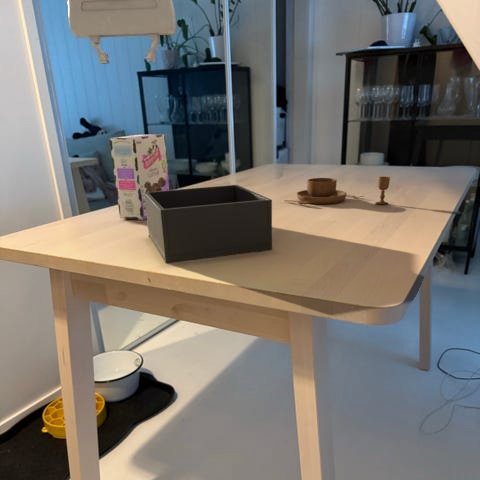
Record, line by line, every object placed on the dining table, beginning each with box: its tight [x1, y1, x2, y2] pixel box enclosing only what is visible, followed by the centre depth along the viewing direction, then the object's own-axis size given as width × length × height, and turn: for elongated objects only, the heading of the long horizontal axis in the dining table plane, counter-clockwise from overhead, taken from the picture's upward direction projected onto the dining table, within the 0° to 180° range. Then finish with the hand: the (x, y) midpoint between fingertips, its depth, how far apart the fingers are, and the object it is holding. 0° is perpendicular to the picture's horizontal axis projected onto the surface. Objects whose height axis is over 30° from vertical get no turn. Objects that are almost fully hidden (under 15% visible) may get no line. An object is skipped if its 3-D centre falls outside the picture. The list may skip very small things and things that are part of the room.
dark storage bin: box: [144, 184, 273, 264], centre depth 78 cm, size 17×17×8 cm
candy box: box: [109, 134, 171, 221], centre depth 101 cm, size 14×6×16 cm, turn 161°
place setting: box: [284, 176, 391, 206], centre depth 108 cm, size 18×20×6 cm
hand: (127, 62), depth 91 cm, fingers open, 8 cm apart
